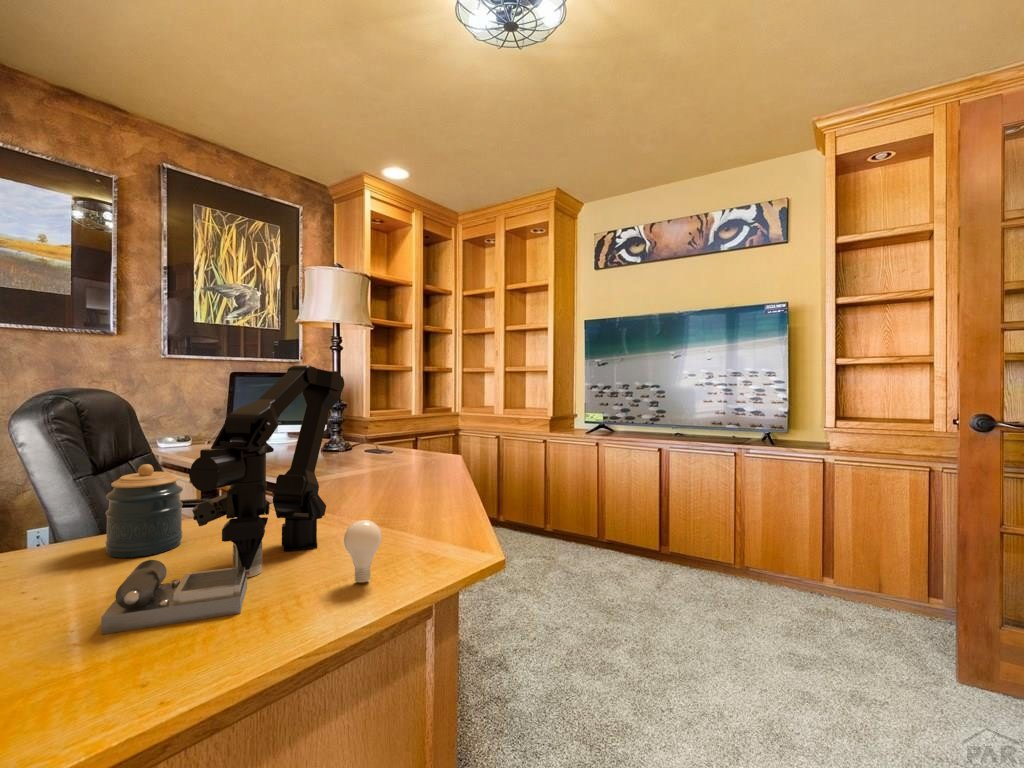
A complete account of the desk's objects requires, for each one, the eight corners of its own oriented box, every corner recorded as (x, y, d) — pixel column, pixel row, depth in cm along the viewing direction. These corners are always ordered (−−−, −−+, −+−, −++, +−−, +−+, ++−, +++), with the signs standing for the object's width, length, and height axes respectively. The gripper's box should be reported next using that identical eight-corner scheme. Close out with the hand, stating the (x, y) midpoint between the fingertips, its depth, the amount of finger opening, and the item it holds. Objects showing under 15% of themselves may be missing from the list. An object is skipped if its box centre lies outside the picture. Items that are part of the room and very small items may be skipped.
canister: (157, 535, 112) (158, 457, 112) (196, 543, 107) (197, 462, 107) (90, 553, 100) (91, 466, 100) (130, 563, 95) (131, 471, 95)
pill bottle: (267, 570, 92) (268, 525, 92) (246, 580, 87) (247, 533, 87) (248, 567, 93) (248, 523, 93) (226, 576, 89) (227, 530, 89)
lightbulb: (346, 593, 83) (347, 527, 83) (340, 579, 88) (341, 518, 88) (384, 586, 86) (385, 522, 86) (376, 573, 91) (377, 514, 91)
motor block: (246, 587, 84) (247, 547, 84) (239, 615, 74) (240, 569, 74) (124, 604, 78) (125, 560, 78) (99, 636, 68) (99, 586, 68)
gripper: (206, 473, 96) (205, 553, 96) (185, 494, 79) (185, 591, 79) (270, 470, 100) (269, 546, 100) (263, 488, 83) (262, 581, 83)
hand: (247, 564), depth 90 cm, fingers closed on pill bottle, 5 cm apart
